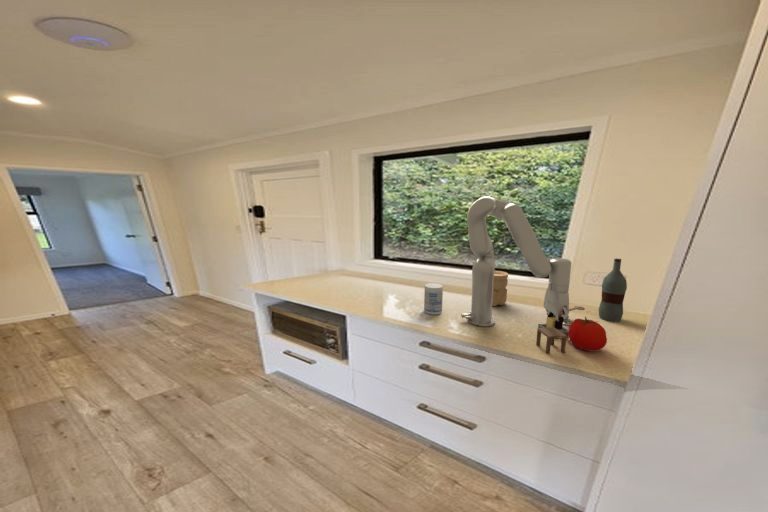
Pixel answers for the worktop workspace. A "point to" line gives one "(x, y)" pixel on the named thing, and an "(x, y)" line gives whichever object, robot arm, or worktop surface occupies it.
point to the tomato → (587, 335)
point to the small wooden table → (551, 338)
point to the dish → (559, 330)
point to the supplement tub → (433, 298)
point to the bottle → (613, 294)
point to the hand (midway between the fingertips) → (554, 326)
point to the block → (551, 322)
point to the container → (499, 288)
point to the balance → (568, 313)
